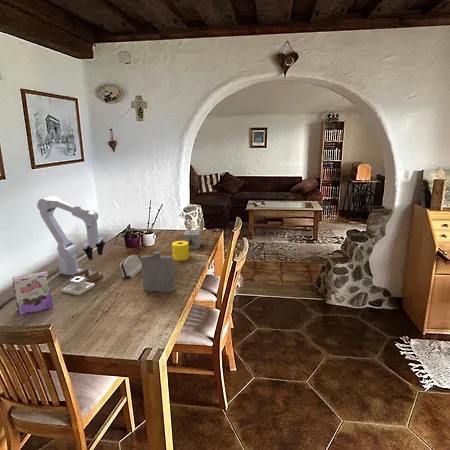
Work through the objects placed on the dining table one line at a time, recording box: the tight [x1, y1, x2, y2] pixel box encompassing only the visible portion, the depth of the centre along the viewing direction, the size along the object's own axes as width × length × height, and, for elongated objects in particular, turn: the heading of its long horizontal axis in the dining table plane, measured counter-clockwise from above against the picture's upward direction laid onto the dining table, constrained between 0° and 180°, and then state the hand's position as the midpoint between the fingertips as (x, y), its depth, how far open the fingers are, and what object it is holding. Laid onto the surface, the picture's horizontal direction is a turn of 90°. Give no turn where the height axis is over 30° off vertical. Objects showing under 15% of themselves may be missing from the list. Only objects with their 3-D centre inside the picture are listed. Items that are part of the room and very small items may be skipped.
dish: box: [61, 282, 96, 296], centre depth 178 cm, size 11×11×2 cm
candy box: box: [12, 271, 53, 316], centre depth 157 cm, size 14×6×16 cm, turn 117°
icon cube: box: [182, 229, 202, 250], centre depth 239 cm, size 10×10×10 cm
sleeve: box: [69, 277, 86, 291], centre depth 178 cm, size 5×5×5 cm
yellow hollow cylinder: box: [171, 240, 190, 262], centre depth 219 cm, size 10×10×9 cm
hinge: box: [119, 254, 142, 279], centre depth 198 cm, size 17×5×10 cm, turn 168°
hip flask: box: [140, 250, 176, 292], centre depth 174 cm, size 16×4×20 cm, turn 85°
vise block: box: [71, 267, 104, 283], centre depth 190 cm, size 13×10×6 cm
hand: (95, 257), depth 194 cm, fingers open, 7 cm apart
